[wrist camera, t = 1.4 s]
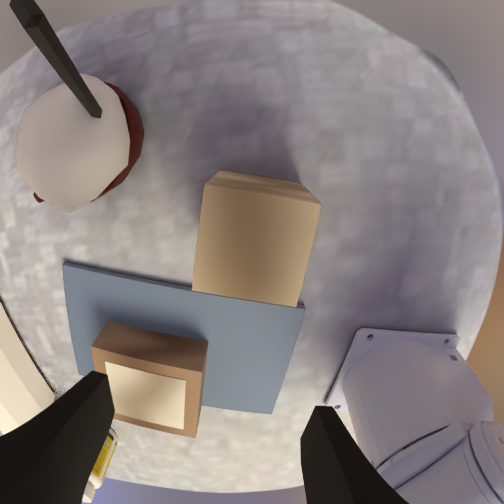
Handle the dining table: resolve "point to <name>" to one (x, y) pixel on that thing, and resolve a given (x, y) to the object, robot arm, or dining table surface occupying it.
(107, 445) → the supplement bottle
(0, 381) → the crystal
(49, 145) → the cocoa
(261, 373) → the board
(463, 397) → the robot arm
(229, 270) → the maple block
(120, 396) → the walnut base block
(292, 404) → the dining table surface
